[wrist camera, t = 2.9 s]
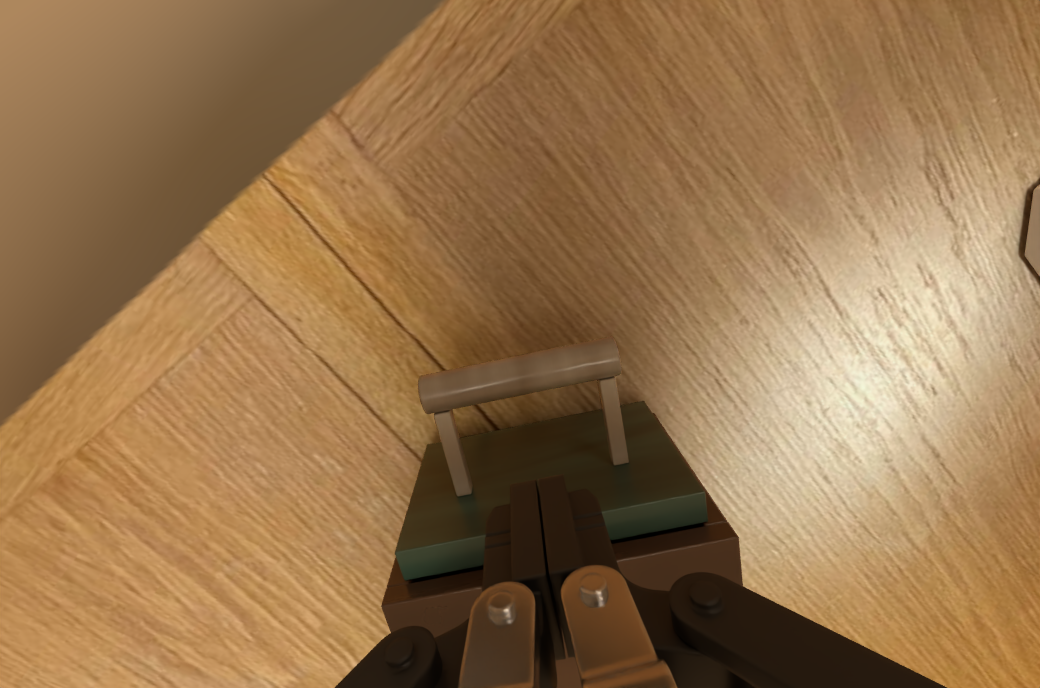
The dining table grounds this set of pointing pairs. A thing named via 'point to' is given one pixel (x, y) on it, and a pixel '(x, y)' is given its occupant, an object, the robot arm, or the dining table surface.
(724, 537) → the cabinet
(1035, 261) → the flask
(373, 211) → the dining table surface
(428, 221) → the dining table surface
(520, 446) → the drawer
